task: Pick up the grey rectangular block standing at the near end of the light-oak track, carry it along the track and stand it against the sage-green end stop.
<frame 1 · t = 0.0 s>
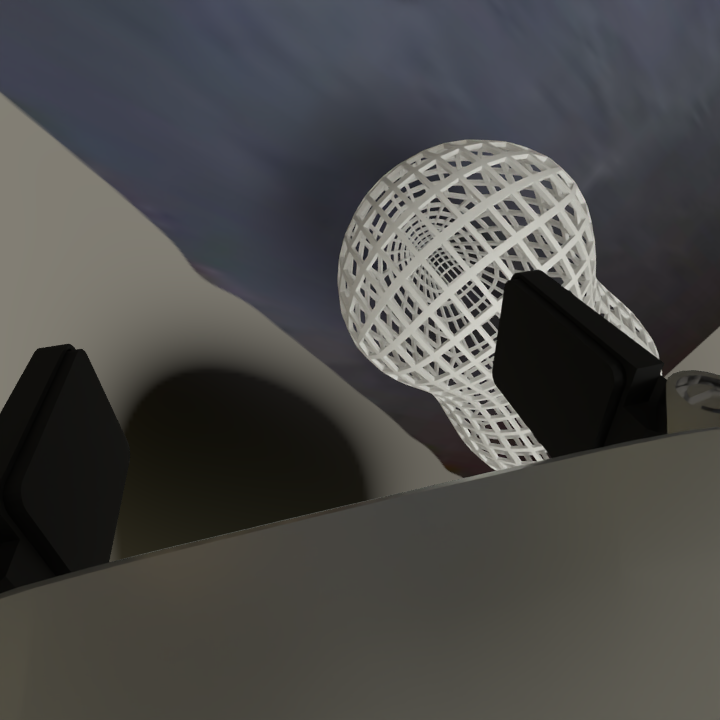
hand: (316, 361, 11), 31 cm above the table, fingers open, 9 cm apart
heart: (429, 250, 45), on the table
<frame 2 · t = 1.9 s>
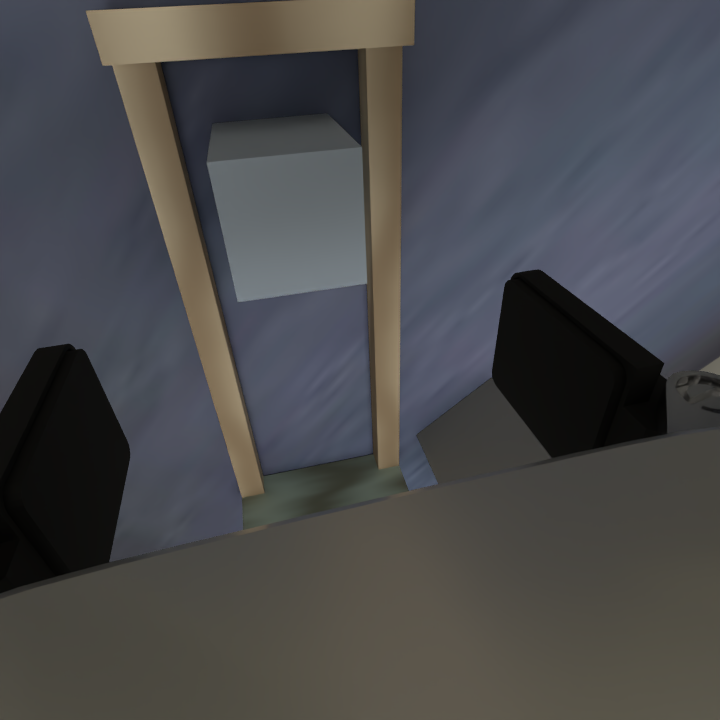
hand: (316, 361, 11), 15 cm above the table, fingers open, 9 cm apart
track: (298, 315, 27), on the table
perfume bottle: (475, 426, 36), on the table
grey rectangular block: (279, 177, 22), resting in track
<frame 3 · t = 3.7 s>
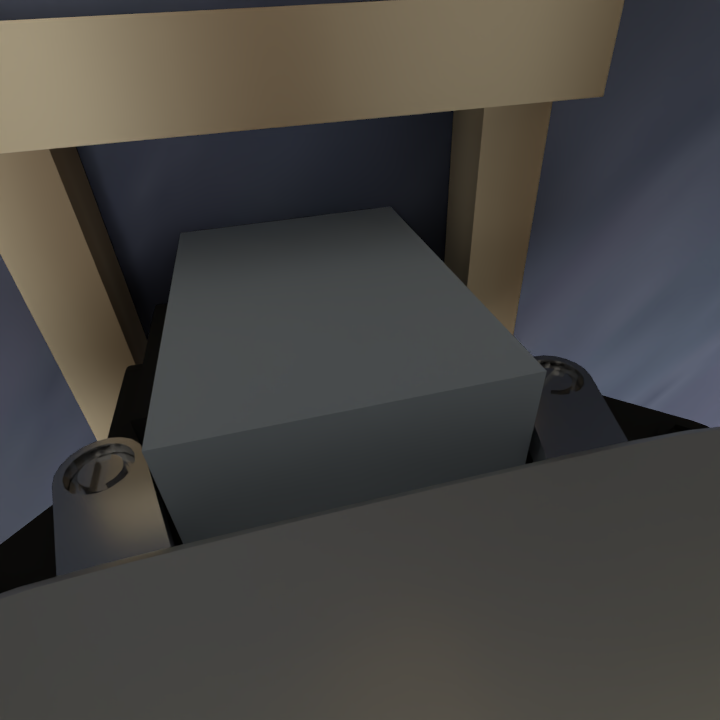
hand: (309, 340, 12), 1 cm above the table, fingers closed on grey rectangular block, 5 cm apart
track: (326, 493, 17), on the table
grey rectangular block: (301, 310, 13), resting in track, touching gripper
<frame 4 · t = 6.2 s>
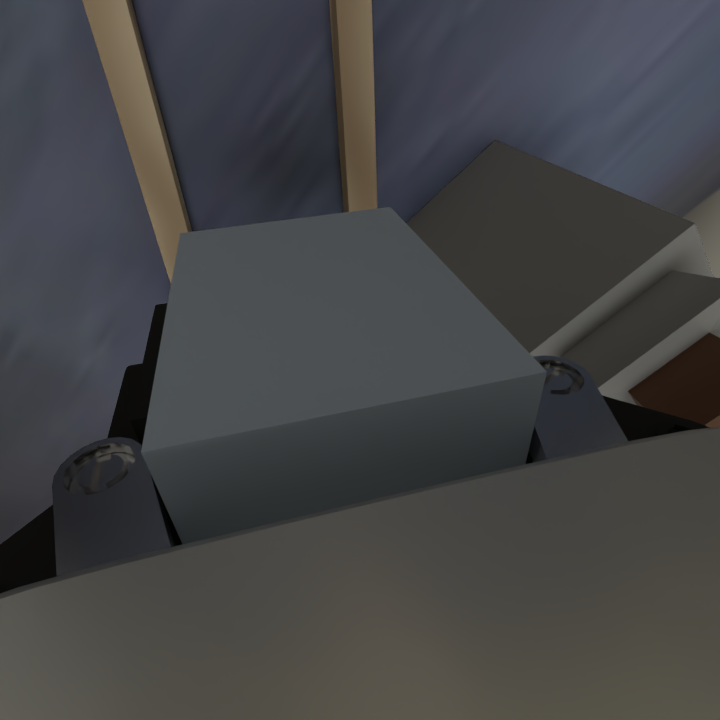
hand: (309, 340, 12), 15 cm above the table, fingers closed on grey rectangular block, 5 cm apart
perfume bottle: (475, 225, 28), on the table
grey rectangular block: (301, 311, 13), point 14 cm above the table, touching gripper
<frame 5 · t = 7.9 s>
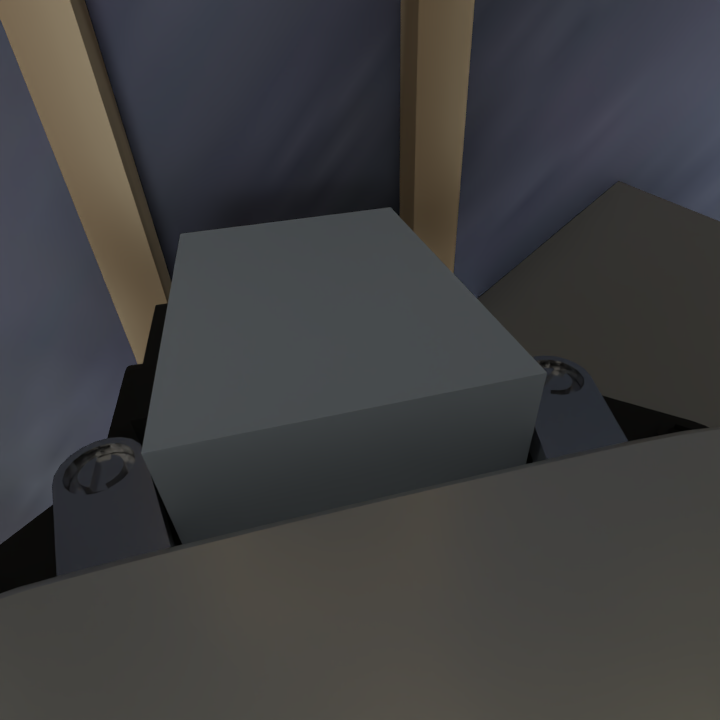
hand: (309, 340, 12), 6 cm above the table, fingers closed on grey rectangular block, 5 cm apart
perfume bottle: (573, 293, 21), on the table
grey rectangular block: (301, 311, 13), point 4 cm above the table, touching gripper
when the fingers open (3 cm above the table, at t = 8.9 s): grey rectangular block drops 1 cm, resting in track.
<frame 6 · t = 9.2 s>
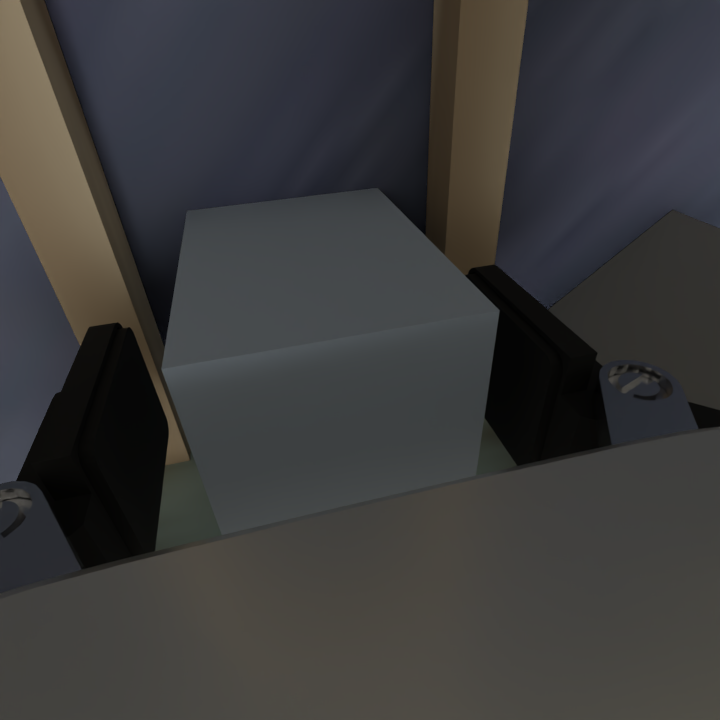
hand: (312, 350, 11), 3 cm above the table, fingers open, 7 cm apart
perfume bottle: (614, 331, 18), on the table
grey rectangular block: (297, 284, 14), resting in track
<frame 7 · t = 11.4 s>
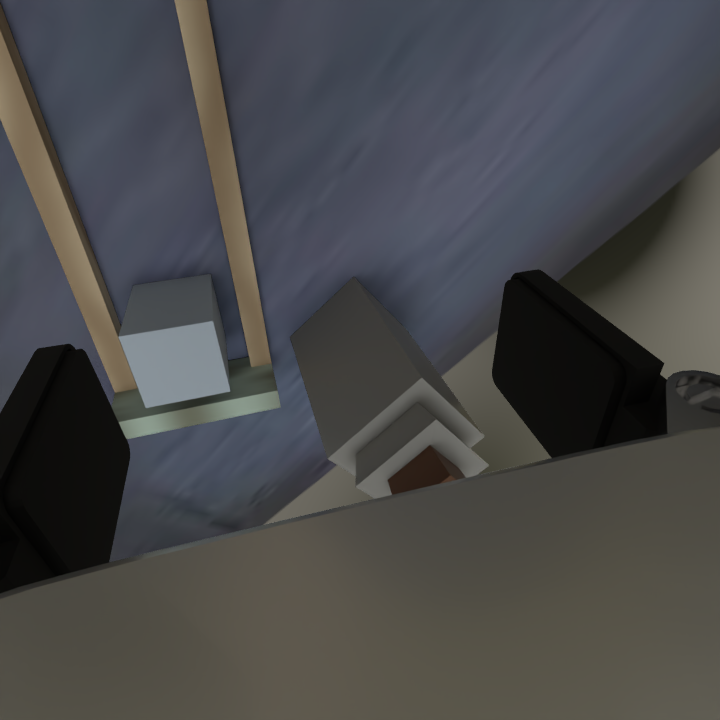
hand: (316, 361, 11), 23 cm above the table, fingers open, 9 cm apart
track: (147, 196, 29), on the table
perfume bottle: (349, 331, 38), on the table
grey rectangular block: (182, 312, 33), resting in track
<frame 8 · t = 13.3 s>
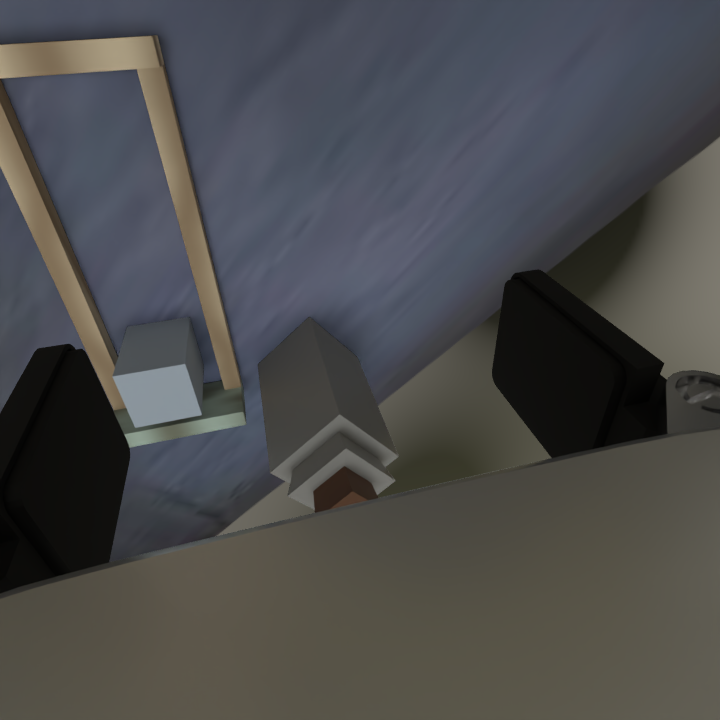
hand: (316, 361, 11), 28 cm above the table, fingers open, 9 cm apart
track: (136, 261, 36), on the table
perfume bottle: (308, 359, 46), on the table
grey rectangular block: (167, 346, 41), resting in track
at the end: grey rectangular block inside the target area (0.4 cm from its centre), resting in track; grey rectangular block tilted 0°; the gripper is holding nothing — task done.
